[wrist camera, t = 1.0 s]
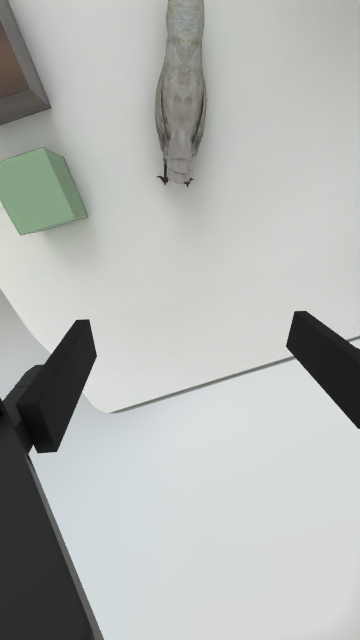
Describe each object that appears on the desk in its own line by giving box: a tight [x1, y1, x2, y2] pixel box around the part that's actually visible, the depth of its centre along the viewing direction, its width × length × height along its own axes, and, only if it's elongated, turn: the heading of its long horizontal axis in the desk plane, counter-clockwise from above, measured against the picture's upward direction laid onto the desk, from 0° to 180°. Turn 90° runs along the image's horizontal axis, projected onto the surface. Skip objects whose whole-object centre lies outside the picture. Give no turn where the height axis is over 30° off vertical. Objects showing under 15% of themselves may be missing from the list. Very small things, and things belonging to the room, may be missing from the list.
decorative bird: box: [155, 0, 207, 187], centre depth 24 cm, size 5×16×7 cm, turn 176°
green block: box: [0, 147, 88, 235], centre depth 28 cm, size 7×7×6 cm
